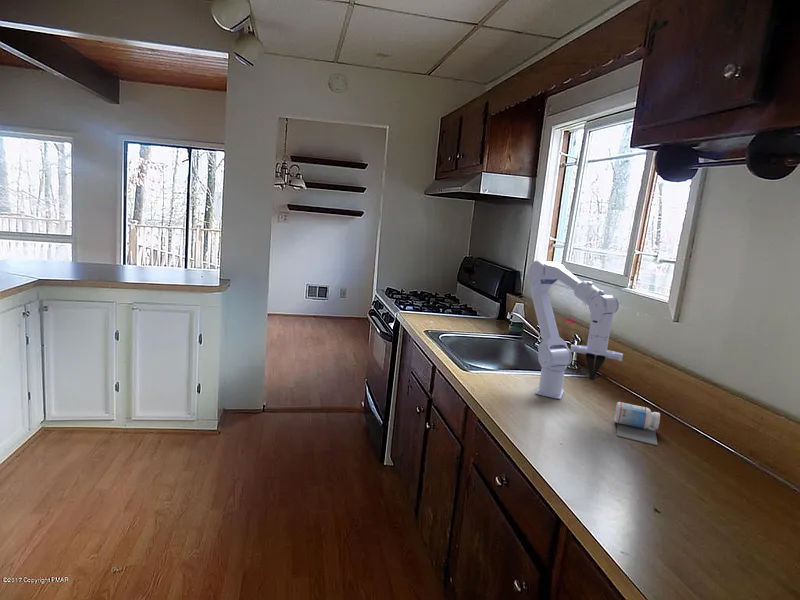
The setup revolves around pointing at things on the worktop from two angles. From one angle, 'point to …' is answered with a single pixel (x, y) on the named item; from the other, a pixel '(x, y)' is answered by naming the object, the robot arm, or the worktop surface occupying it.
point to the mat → (637, 434)
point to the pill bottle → (636, 416)
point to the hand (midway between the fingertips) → (591, 379)
